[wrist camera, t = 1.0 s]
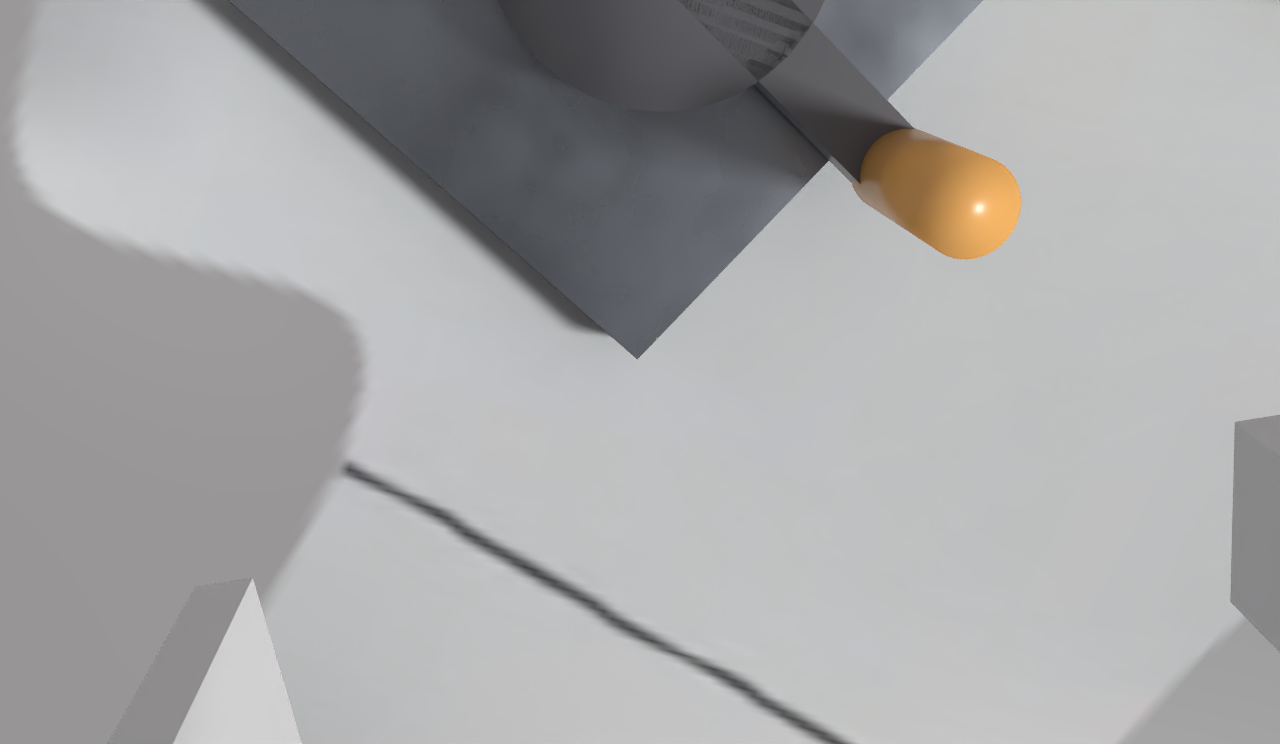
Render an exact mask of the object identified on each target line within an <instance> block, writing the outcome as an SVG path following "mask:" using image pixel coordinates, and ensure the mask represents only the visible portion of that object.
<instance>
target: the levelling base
mask: <svg viewBox="0 0 1280 744" xmlns="http://www.w3.org/2000/svg"><path fill="white" fill-rule="evenodd" d="M229 1H230V2H231V3H232V4H234V5H235V6H236V7H237V8H238V9H239V10H240V11H242V12H243V13H244V14H245V15H246V16H247V17H248V18H249V19H251V20H252V21H253V22H254V23H255V24H256V25H257V26H259V27H260V28H261V29H262V30H263V31H264V32H265V33H267V34H268V35H269V36H270V37H271V38H272V39H273V40H275V41H276V42H277V43H278V44H279V45H280V46H281V47H282V48H284V49H285V50H286V51H287V52H288V53H289V54H290V55H292V56H293V57H294V58H295V59H296V60H297V61H298V62H300V63H301V64H302V65H303V66H304V67H305V68H306V69H307V70H309V71H310V72H311V73H312V74H313V75H314V76H315V77H317V78H318V79H319V80H320V81H321V82H322V83H323V84H325V85H326V86H327V87H328V88H329V89H330V90H331V91H333V92H334V93H335V94H336V95H337V96H338V97H339V98H340V99H342V100H343V101H344V102H345V103H346V104H347V105H348V106H350V107H351V108H352V109H353V110H354V111H355V112H356V113H358V114H359V115H360V116H361V117H362V118H363V119H364V120H366V121H367V122H368V123H369V124H370V125H371V126H372V127H373V128H375V129H376V130H377V131H378V132H379V133H380V134H381V135H383V136H384V137H385V138H386V139H387V140H388V141H389V142H391V143H392V144H393V145H394V146H395V147H396V148H397V149H399V150H400V151H401V152H402V153H403V154H404V155H405V156H406V157H408V158H409V159H410V160H411V161H412V162H413V163H414V164H416V165H417V166H418V167H419V168H420V169H421V170H422V171H424V172H425V173H426V174H427V175H428V176H429V177H430V178H432V179H433V180H434V181H435V182H436V183H437V184H438V185H439V186H441V187H442V188H443V189H444V190H445V191H446V192H447V193H449V194H450V195H451V196H452V197H453V198H454V199H455V200H457V201H458V202H459V203H460V204H461V205H462V206H463V207H465V208H466V209H467V210H468V211H469V212H470V213H471V214H472V215H474V216H475V217H476V218H477V219H478V220H479V221H480V222H482V223H483V224H484V225H485V226H486V227H487V228H488V229H490V230H491V231H492V232H493V233H494V234H495V235H496V236H498V237H499V238H500V239H501V240H502V241H503V242H504V243H505V244H507V245H508V246H509V247H510V248H511V249H512V250H513V251H515V252H516V253H517V254H518V255H519V256H520V257H521V258H523V259H524V260H525V261H526V262H527V263H528V264H529V265H531V266H532V267H533V268H534V269H535V270H536V271H537V272H538V273H540V274H541V275H542V276H543V277H544V278H545V279H546V280H548V281H549V282H550V283H551V284H552V285H553V286H554V287H556V288H557V289H558V290H559V291H560V292H561V293H562V294H564V295H565V296H566V297H567V298H568V299H569V300H570V301H571V302H573V303H574V304H575V305H576V306H577V307H578V308H579V309H581V310H582V311H583V312H584V313H585V314H586V315H587V316H589V317H590V318H591V319H592V320H593V321H594V322H595V323H597V324H598V325H599V326H600V327H601V328H602V329H603V330H604V331H606V332H607V333H608V334H609V335H610V336H611V337H612V338H614V339H615V340H616V341H617V342H618V343H619V344H620V345H622V346H623V347H624V348H625V349H626V350H627V351H628V352H629V353H631V354H632V355H633V356H634V357H635V358H636V359H638V358H639V357H640V356H641V355H642V354H643V353H644V352H645V351H646V350H647V349H648V348H649V347H650V346H651V345H652V344H653V343H654V341H655V340H656V339H657V338H658V337H659V336H660V335H661V334H662V333H663V332H664V331H665V330H666V329H667V328H668V327H669V326H670V325H671V324H672V323H673V322H674V321H675V320H676V319H677V318H678V317H679V315H680V314H681V313H682V312H683V311H684V310H685V309H686V308H687V307H688V306H689V305H690V304H691V303H692V302H693V301H694V300H695V299H696V298H697V297H698V296H699V295H700V294H701V293H702V292H703V291H704V290H705V288H706V287H707V286H708V285H709V284H710V283H711V282H712V281H713V280H714V279H715V278H716V277H717V276H718V275H719V274H720V273H721V272H722V271H723V270H724V269H725V268H726V267H727V266H728V265H729V264H730V263H731V261H732V260H733V259H734V258H735V257H736V256H737V255H738V254H739V253H740V252H741V251H742V250H743V249H744V248H745V247H746V246H747V245H748V244H749V243H750V242H751V241H752V240H753V239H754V238H755V237H756V235H757V234H758V233H759V232H760V231H761V230H762V229H763V228H764V227H765V226H766V225H767V224H768V223H769V222H770V221H771V220H772V219H773V218H774V217H775V216H776V215H777V214H778V213H779V212H780V211H781V210H782V208H783V207H784V206H785V205H786V204H787V203H788V202H789V201H790V200H791V199H792V198H793V197H794V196H795V195H796V194H797V193H798V192H799V191H800V190H801V189H802V188H803V187H804V186H805V185H806V184H807V183H808V181H809V180H810V179H811V178H812V177H813V176H814V175H815V174H816V173H817V172H818V171H819V170H820V169H821V168H822V167H823V166H824V165H825V164H826V163H827V162H828V161H829V160H828V159H827V158H826V157H825V156H824V155H823V154H822V153H821V152H820V151H819V150H818V149H817V148H816V147H815V146H814V145H813V144H812V143H811V142H810V141H809V140H808V138H807V137H806V136H805V135H804V134H803V133H802V132H801V131H800V130H799V129H798V128H797V127H796V126H795V125H794V124H793V123H792V122H791V121H790V120H789V119H788V118H787V117H786V116H785V115H784V114H783V113H782V112H781V111H780V110H779V109H778V108H777V107H776V106H775V105H774V104H773V103H772V102H771V101H770V100H769V99H768V98H767V97H766V96H765V95H764V94H763V93H762V92H761V91H760V90H759V89H758V88H757V87H756V86H755V85H752V86H750V87H749V88H747V89H745V90H743V91H741V92H739V93H738V94H736V95H734V96H732V97H729V98H727V99H724V100H721V101H719V102H716V103H714V104H711V105H706V106H702V107H698V108H694V109H690V110H681V111H671V112H654V111H640V110H634V109H628V108H622V107H619V106H616V105H613V104H609V103H606V102H603V101H600V100H598V99H595V98H593V97H591V96H589V95H587V94H585V93H582V92H580V91H578V90H577V89H575V88H574V87H572V86H571V85H569V84H567V83H566V82H564V81H563V80H561V79H560V78H558V77H557V76H556V75H555V74H554V73H552V72H551V71H550V70H549V69H547V68H546V67H545V66H544V65H543V64H542V63H541V62H540V61H539V60H538V59H537V58H536V57H535V56H534V55H533V54H532V53H531V52H530V51H529V49H528V48H527V47H526V46H525V45H524V44H523V42H522V41H521V39H520V38H519V37H518V35H517V34H516V32H515V31H514V30H513V28H512V27H511V25H510V23H509V21H508V19H507V18H506V16H505V14H504V12H503V10H502V8H501V7H500V5H499V2H498V0H229ZM982 1H983V0H825V1H824V3H823V5H822V7H821V9H820V11H819V13H818V15H817V17H816V19H815V21H814V22H813V23H814V24H815V25H816V26H817V27H818V29H819V30H820V31H821V32H822V33H823V34H824V35H825V36H826V37H827V38H828V39H829V40H830V41H831V42H832V43H833V44H834V45H835V46H836V47H837V48H838V50H839V51H840V52H841V53H842V54H843V55H844V56H845V57H846V58H847V59H848V60H849V61H850V62H851V63H852V64H853V65H854V66H855V67H856V68H857V69H858V70H859V72H860V73H861V74H862V75H863V76H864V77H865V78H866V79H867V80H868V81H869V82H870V83H871V84H872V85H873V86H874V87H875V88H876V89H877V90H878V91H879V92H880V94H881V95H882V96H883V97H884V98H885V99H886V100H887V99H888V98H889V97H890V96H891V95H892V94H893V93H894V92H895V91H896V90H897V89H898V88H899V87H900V86H901V85H902V84H903V83H904V82H905V81H906V80H907V79H908V78H909V77H910V75H911V74H912V73H913V72H914V71H915V70H916V69H917V68H918V67H919V66H920V65H921V64H922V63H923V62H924V61H925V60H926V59H927V58H928V57H929V56H930V55H931V54H932V53H933V52H934V51H935V50H936V48H937V47H938V46H939V45H940V44H941V43H942V42H943V41H944V40H945V39H946V38H947V37H948V36H949V35H950V34H951V33H952V32H953V31H954V30H955V29H956V28H957V27H958V26H959V25H960V24H961V23H962V21H963V20H964V19H965V18H966V17H967V16H968V15H969V14H970V13H971V12H972V11H973V10H974V9H975V8H976V7H977V6H978V5H979V4H980V3H981V2H982Z"/></svg>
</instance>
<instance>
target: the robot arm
mask: <svg viewBox="0 0 1280 744" xmlns="http://www.w3.org/2000/svg"><path fill="white" fill-rule="evenodd" d="M1230 602H1231V603H1232V604H1233V605H1234V606H1235V607H1236V608H1237V609H1238V610H1239V611H1240V612H1241V613H1242V614H1243V615H1244V616H1245V617H1246V618H1247V619H1248V620H1249V621H1250V622H1251V623H1252V624H1253V625H1254V626H1255V627H1256V629H1258V630H1259V632H1260V633H1261V634H1262V635H1263V636H1264V637H1265V638H1266V639H1267V640H1268V641H1269V642H1270V643H1271V644H1272V645H1273V646H1274V647H1275V648H1276V649H1277V650H1278V651H1279V652H1280V415H1276V416H1270V417H1263V418H1257V419H1251V420H1244V421H1238V422H1235V439H1234V479H1233V519H1232V559H1231V599H1230ZM108 744H302V742H301V739H300V736H299V732H298V729H297V725H296V722H295V719H294V715H293V712H292V709H291V705H290V702H289V699H288V695H287V692H286V688H285V685H284V682H283V678H282V675H281V672H280V668H279V665H278V662H277V658H276V655H275V652H274V648H273V645H272V641H271V638H270V635H269V631H268V628H267V625H266V621H265V618H264V615H263V611H262V608H261V604H260V601H259V598H258V595H257V591H256V588H255V584H254V581H253V578H249V579H243V580H236V581H230V582H224V583H218V584H211V585H205V586H198V587H195V589H194V590H193V592H192V594H191V596H190V597H189V599H188V601H187V603H186V605H185V606H184V608H183V610H182V612H181V613H180V615H179V617H178V619H177V621H176V623H175V624H174V626H173V628H172V630H171V631H170V633H169V635H168V637H167V639H166V640H165V642H164V644H163V646H162V647H161V649H160V651H159V653H158V655H157V656H156V658H155V660H154V662H153V664H152V665H151V667H150V669H149V671H148V673H147V674H146V676H145V678H144V680H143V681H142V683H141V685H140V687H139V689H138V691H137V692H136V694H135V696H134V698H133V699H132V701H131V703H130V705H129V707H128V708H127V710H126V712H125V714H124V715H123V717H122V719H121V721H120V723H119V724H118V726H117V728H116V730H115V732H114V733H113V735H112V737H111V739H110V741H109V742H108Z"/></svg>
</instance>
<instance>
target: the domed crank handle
mask: <svg viewBox="0 0 1280 744" xmlns="http://www.w3.org/2000/svg"><path fill="white" fill-rule="evenodd" d="M824 1H825V0H498V2H499V5H500V7H501V8H502V10H503V12H504V14H505V16H506V18H507V19H508V21H509V23H510V25H511V27H512V28H513V30H514V31H515V32H516V34H517V35H518V37H519V38H520V39H521V41H522V42H523V44H524V45H525V46H526V47H527V48H528V49H529V51H530V52H531V53H532V54H533V55H534V56H535V57H536V58H537V59H538V60H539V61H540V62H541V63H542V64H543V65H544V66H545V67H546V68H547V69H549V70H550V71H551V72H552V73H554V74H555V75H556V76H557V77H558V78H560V79H561V80H563V81H564V82H566V83H567V84H569V85H571V86H572V87H574V88H575V89H577V90H578V91H580V92H582V93H585V94H587V95H589V96H591V97H593V98H595V99H598V100H600V101H603V102H606V103H609V104H613V105H616V106H619V107H622V108H628V109H634V110H640V111H654V112H671V111H681V110H690V109H694V108H698V107H702V106H706V105H711V104H714V103H716V102H719V101H721V100H724V99H727V98H729V97H732V96H734V95H736V94H738V93H739V92H741V91H743V90H745V89H747V88H749V87H750V86H752V85H755V86H756V87H757V88H758V89H759V90H760V91H761V92H762V93H763V94H764V95H765V96H766V97H767V98H768V99H769V100H770V101H771V102H772V103H773V104H774V105H775V106H776V107H777V108H778V109H779V110H780V111H781V112H782V113H783V114H784V115H785V116H786V117H787V118H788V119H789V120H790V121H791V122H792V123H793V124H794V125H795V126H796V127H797V128H798V129H799V130H800V131H801V132H802V133H803V134H804V135H805V136H806V137H807V138H808V140H809V141H810V142H811V143H812V144H813V145H814V146H815V147H816V148H817V149H818V150H819V151H820V152H821V153H822V154H823V155H824V156H825V157H826V158H827V159H828V160H829V161H830V162H831V163H832V164H833V165H834V166H835V167H836V168H837V169H838V170H839V171H840V172H841V173H842V174H843V175H844V176H845V177H846V178H847V179H848V180H849V181H850V182H851V183H852V185H853V188H854V190H855V192H856V193H857V195H858V196H859V197H860V198H861V200H862V201H864V202H865V203H866V204H868V205H869V206H871V207H872V208H874V209H875V210H877V211H878V212H880V213H881V214H883V215H884V216H886V217H887V218H889V219H890V220H892V221H893V222H895V223H896V224H898V225H900V226H901V227H903V228H904V229H906V230H907V231H909V232H910V233H912V234H913V235H915V236H916V237H918V238H919V239H921V240H922V241H924V242H925V243H927V244H928V245H930V246H932V247H933V248H935V249H936V250H938V251H939V252H941V253H942V254H944V255H946V256H949V257H952V258H956V259H974V258H978V257H981V256H984V255H987V254H989V253H990V252H992V251H994V250H995V249H997V248H998V247H999V246H1000V245H1002V244H1003V243H1004V242H1005V241H1006V239H1007V238H1008V237H1009V236H1010V234H1011V233H1012V231H1013V229H1014V228H1015V226H1016V223H1017V221H1018V218H1019V214H1020V208H1021V196H1020V191H1019V187H1018V184H1017V182H1016V180H1015V178H1014V176H1013V175H1012V173H1011V172H1010V171H1009V170H1008V169H1007V168H1006V167H1005V166H1004V165H1002V164H1001V163H999V162H998V161H996V160H994V159H991V158H989V157H986V156H984V155H981V154H979V153H976V152H974V151H971V150H969V149H966V148H963V147H961V146H958V145H956V144H953V143H951V142H948V141H946V140H943V139H941V138H938V137H936V136H933V135H931V134H928V133H925V132H923V131H920V130H918V129H915V128H913V127H912V126H911V125H910V124H909V123H908V122H907V121H906V120H905V119H904V118H903V117H902V116H901V115H900V113H899V112H898V111H897V110H896V109H895V108H894V107H893V106H892V105H891V104H890V103H889V102H888V101H887V100H886V99H885V98H884V97H883V96H882V95H881V94H880V92H879V91H878V90H877V89H876V88H875V87H874V86H873V85H872V84H871V83H870V82H869V81H868V80H867V79H866V78H865V77H864V76H863V75H862V74H861V73H860V72H859V70H858V69H857V68H856V67H855V66H854V65H853V64H852V63H851V62H850V61H849V60H848V59H847V58H846V57H845V56H844V55H843V54H842V53H841V52H840V51H839V50H838V48H837V47H836V46H835V45H834V44H833V43H832V42H831V41H830V40H829V39H828V38H827V37H826V36H825V35H824V34H823V33H822V32H821V31H820V30H819V29H818V27H817V26H816V25H815V24H814V23H813V22H814V21H815V19H816V17H817V15H818V13H819V11H820V9H821V7H822V5H823V3H824Z"/></svg>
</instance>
